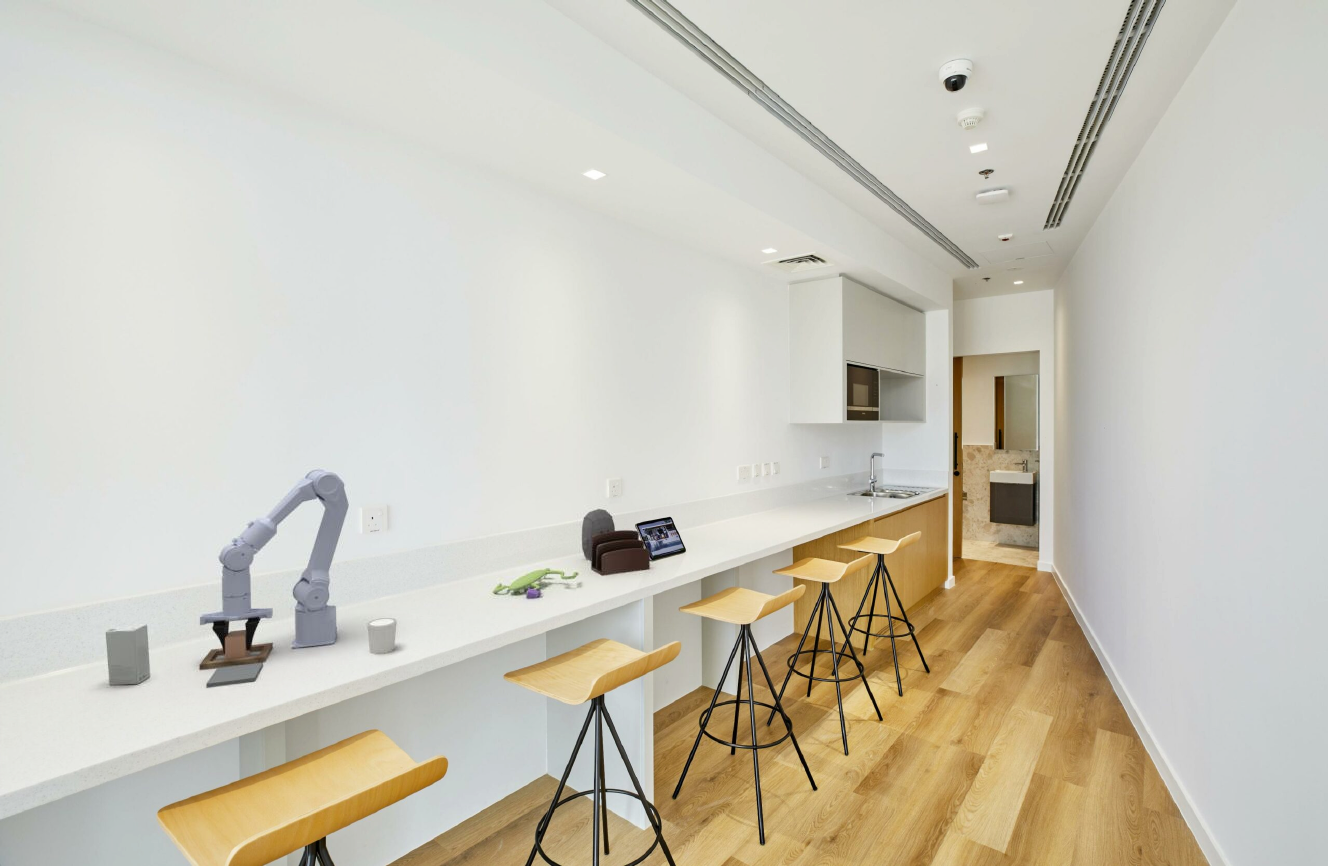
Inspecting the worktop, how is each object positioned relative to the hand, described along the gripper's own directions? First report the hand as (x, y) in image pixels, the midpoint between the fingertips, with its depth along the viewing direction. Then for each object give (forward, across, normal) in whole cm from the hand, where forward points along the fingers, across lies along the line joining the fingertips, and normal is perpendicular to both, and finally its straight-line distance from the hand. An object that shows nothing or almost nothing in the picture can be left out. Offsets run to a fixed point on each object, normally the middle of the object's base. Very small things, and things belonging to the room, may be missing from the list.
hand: (237, 650), depth 157 cm
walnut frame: (+2, 0, 0) cm, 2 cm away
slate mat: (+2, +2, -12) cm, 12 cm away
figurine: (+2, +79, +35) cm, 87 cm away
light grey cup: (+2, +32, -6) cm, 33 cm away
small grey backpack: (+2, +110, +69) cm, 130 cm away
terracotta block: (+2, 0, 0) cm, 2 cm away
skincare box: (+2, -19, -7) cm, 20 cm away
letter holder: (+2, +113, +50) cm, 123 cm away
